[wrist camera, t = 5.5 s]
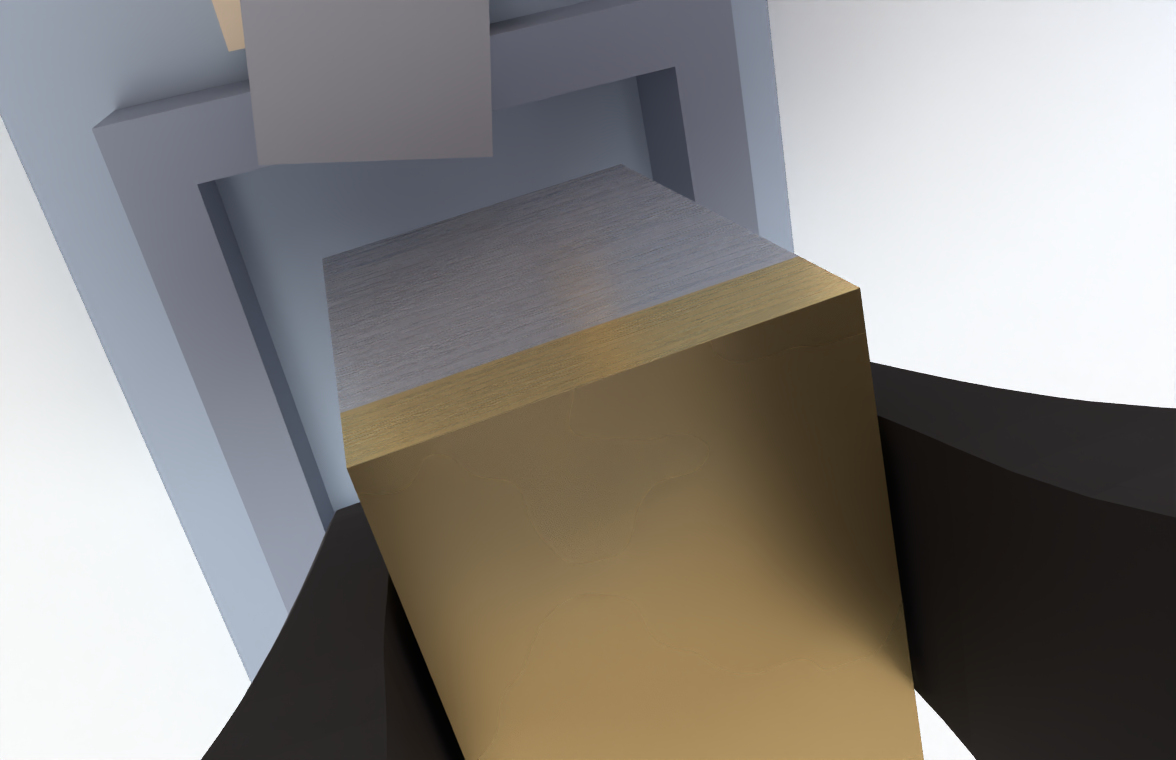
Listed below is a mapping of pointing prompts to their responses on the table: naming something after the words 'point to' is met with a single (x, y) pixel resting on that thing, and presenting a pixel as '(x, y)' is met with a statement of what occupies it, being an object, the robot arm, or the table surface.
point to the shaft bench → (334, 200)
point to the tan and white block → (626, 480)
